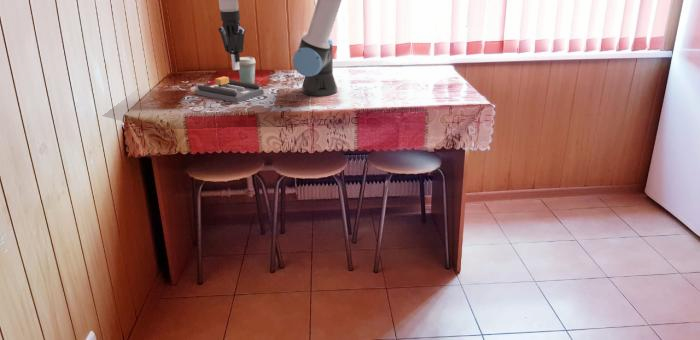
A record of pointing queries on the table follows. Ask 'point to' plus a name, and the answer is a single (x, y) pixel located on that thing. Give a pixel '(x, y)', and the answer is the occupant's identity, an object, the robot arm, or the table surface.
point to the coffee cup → (247, 69)
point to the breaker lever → (222, 81)
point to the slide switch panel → (242, 92)
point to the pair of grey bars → (228, 92)
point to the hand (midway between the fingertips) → (236, 69)
